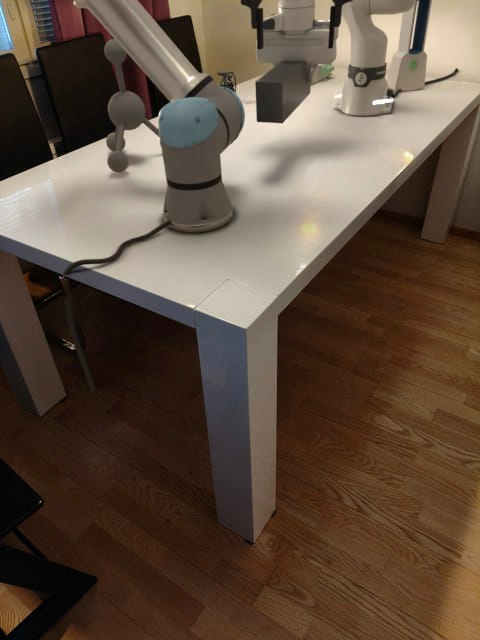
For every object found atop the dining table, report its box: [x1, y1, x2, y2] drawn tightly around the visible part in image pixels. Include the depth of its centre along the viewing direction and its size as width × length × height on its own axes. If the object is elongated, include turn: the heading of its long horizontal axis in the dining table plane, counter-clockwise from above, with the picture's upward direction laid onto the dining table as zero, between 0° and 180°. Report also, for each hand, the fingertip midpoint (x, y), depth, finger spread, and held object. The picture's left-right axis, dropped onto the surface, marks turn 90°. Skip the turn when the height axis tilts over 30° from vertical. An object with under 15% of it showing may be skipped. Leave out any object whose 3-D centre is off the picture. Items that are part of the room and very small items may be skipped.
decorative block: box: [311, 63, 336, 85], centre depth 205 cm, size 26×6×20 cm
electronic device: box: [386, 0, 433, 92], centre depth 177 cm, size 12×8×30 cm, turn 105°
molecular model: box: [103, 38, 161, 174], centre depth 130 cm, size 24×22×30 cm
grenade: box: [216, 70, 237, 95], centre depth 181 cm, size 7×6×10 cm
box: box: [255, 61, 312, 124], centre depth 119 cm, size 26×6×9 cm, turn 160°
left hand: (295, 48), depth 94 cm, fingers open, 13 cm apart
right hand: (295, 82), depth 126 cm, fingers closed on box, 6 cm apart
